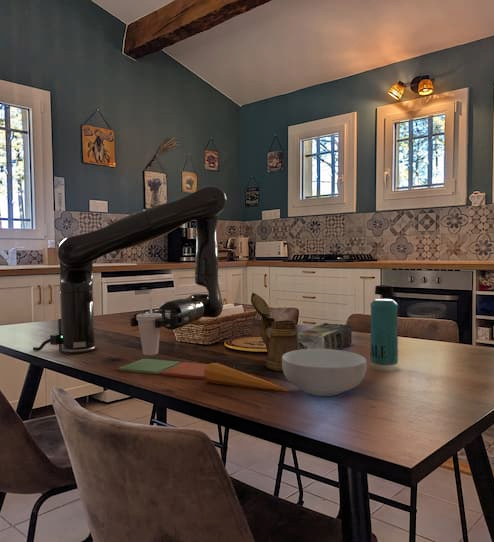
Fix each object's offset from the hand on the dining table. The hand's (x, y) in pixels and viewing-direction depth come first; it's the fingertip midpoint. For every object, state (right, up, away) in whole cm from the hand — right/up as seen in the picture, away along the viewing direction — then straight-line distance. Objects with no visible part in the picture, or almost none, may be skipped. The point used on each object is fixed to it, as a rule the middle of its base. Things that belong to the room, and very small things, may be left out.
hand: (144, 323), depth 124 cm
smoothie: (+1, -8, +3) cm, 9 cm away
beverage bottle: (+58, -11, -3) cm, 59 cm away
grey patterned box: (+48, -10, +21) cm, 53 cm away
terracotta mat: (+12, -11, -2) cm, 17 cm away
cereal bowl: (+40, -12, -20) cm, 46 cm away
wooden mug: (+32, -11, +2) cm, 34 cm away
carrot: (+24, -12, -16) cm, 32 cm away
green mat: (+1, -11, +3) cm, 12 cm away
